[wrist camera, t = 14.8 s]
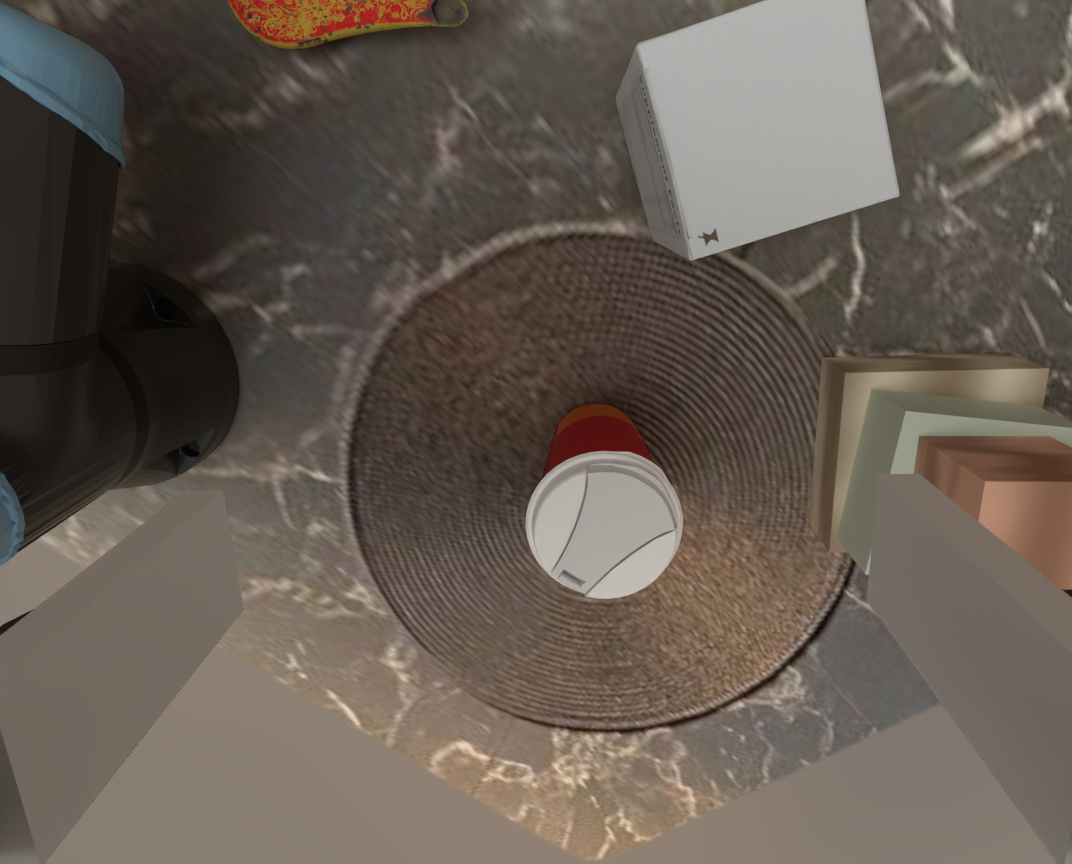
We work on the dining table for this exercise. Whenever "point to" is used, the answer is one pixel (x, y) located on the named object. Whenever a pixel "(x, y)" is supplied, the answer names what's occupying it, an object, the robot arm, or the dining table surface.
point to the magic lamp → (340, 18)
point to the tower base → (923, 374)
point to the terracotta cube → (1010, 492)
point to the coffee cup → (602, 507)
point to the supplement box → (756, 124)
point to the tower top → (895, 443)
